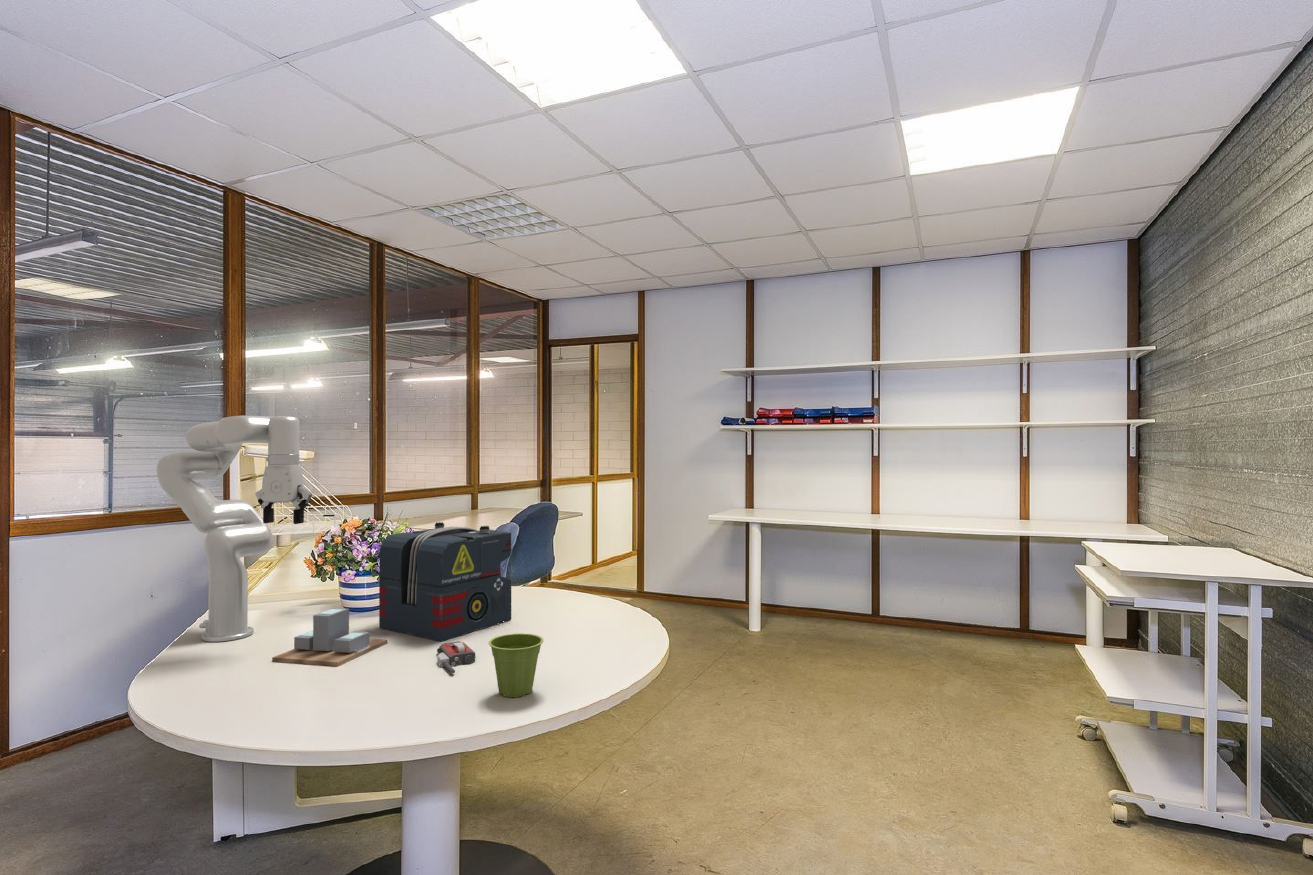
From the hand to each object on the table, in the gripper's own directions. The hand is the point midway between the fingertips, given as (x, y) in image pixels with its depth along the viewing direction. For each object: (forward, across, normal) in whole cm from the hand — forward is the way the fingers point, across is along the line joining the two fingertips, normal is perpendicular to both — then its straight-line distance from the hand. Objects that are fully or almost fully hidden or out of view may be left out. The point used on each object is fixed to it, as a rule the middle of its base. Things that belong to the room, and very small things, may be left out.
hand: (283, 523), depth 183 cm
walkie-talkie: (+34, +54, -4) cm, 64 cm away
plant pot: (+34, +78, -20) cm, 87 cm away
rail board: (+33, +18, -3) cm, 38 cm away
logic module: (+32, +18, -3) cm, 37 cm away
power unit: (+34, +33, +29) cm, 55 cm away
